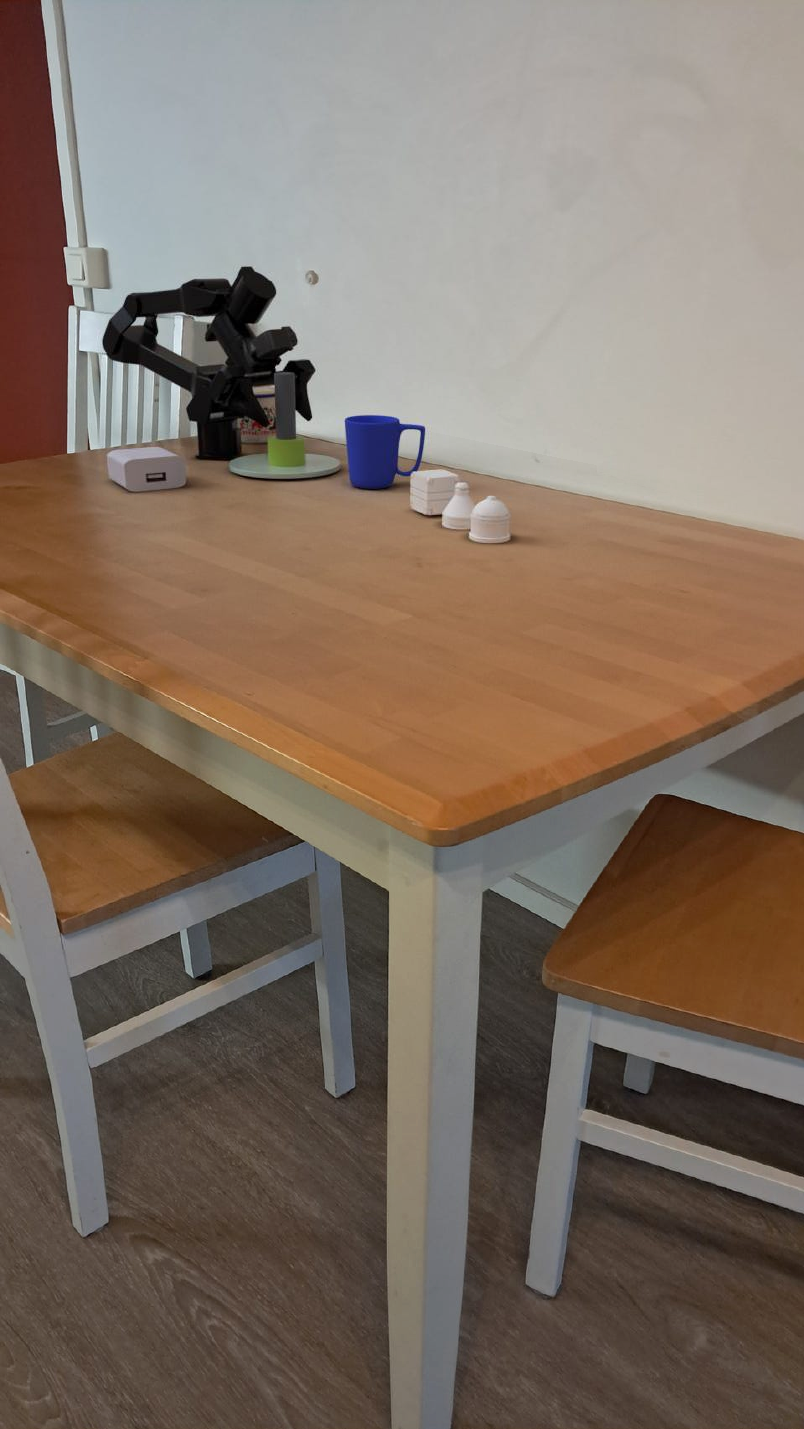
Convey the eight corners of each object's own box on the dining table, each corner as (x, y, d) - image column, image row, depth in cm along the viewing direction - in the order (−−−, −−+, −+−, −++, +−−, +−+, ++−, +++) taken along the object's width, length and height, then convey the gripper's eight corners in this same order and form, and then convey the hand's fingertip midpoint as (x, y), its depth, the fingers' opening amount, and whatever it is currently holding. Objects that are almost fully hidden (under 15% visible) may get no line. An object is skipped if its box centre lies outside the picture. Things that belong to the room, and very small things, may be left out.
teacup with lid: (237, 445, 194) (234, 378, 189) (227, 437, 201) (224, 372, 197) (301, 442, 197) (299, 376, 193) (289, 434, 205) (287, 371, 201)
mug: (423, 492, 159) (425, 424, 155) (343, 491, 159) (342, 422, 155) (424, 481, 167) (425, 415, 163) (347, 479, 167) (346, 414, 163)
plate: (214, 478, 167) (214, 470, 166) (247, 457, 183) (246, 450, 182) (327, 483, 164) (326, 475, 164) (350, 462, 180) (349, 454, 180)
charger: (154, 469, 173) (186, 486, 161) (97, 474, 168) (126, 492, 157) (152, 439, 171) (184, 455, 159) (94, 444, 166) (123, 460, 155)
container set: (409, 510, 148) (409, 471, 146) (442, 507, 150) (443, 468, 148) (482, 545, 132) (484, 500, 130) (518, 540, 134) (520, 497, 132)
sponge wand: (269, 467, 170) (265, 375, 164) (267, 460, 175) (264, 370, 169) (306, 466, 170) (304, 375, 165) (304, 459, 176) (302, 370, 170)
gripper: (215, 310, 160) (267, 394, 157) (306, 306, 172) (355, 383, 170) (186, 361, 168) (235, 441, 165) (275, 354, 180) (322, 428, 178)
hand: (289, 422), depth 170 cm, fingers open, 9 cm apart
